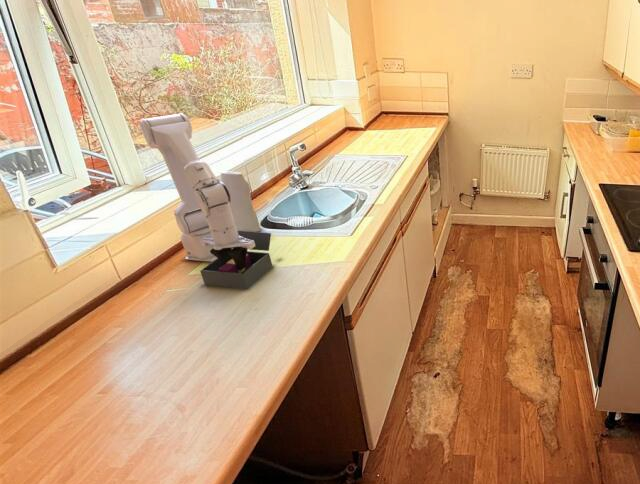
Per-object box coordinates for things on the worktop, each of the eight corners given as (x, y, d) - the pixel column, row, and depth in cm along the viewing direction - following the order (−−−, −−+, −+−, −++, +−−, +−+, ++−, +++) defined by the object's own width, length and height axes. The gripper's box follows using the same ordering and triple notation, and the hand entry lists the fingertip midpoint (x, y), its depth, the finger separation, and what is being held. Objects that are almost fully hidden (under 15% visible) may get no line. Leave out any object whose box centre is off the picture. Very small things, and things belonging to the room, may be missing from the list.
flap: (230, 230, 120) (232, 230, 120) (228, 247, 119) (229, 247, 120) (270, 233, 118) (271, 233, 119) (268, 250, 118) (268, 250, 118)
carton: (205, 285, 112) (199, 270, 110) (233, 263, 122) (229, 249, 120) (247, 288, 111) (242, 274, 109) (272, 266, 120) (269, 252, 118)
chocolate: (221, 279, 112) (218, 268, 110) (242, 263, 119) (239, 253, 117) (231, 280, 111) (228, 269, 110) (252, 264, 118) (249, 253, 117)
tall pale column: (229, 231, 139) (211, 172, 130) (238, 225, 143) (221, 168, 134) (257, 233, 138) (240, 174, 129) (265, 227, 142) (249, 170, 133)
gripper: (186, 231, 106) (201, 273, 111) (236, 235, 105) (249, 278, 110) (207, 219, 112) (221, 259, 118) (255, 222, 111) (266, 263, 116)
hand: (236, 267), depth 114 cm, fingers closed on chocolate, 3 cm apart
